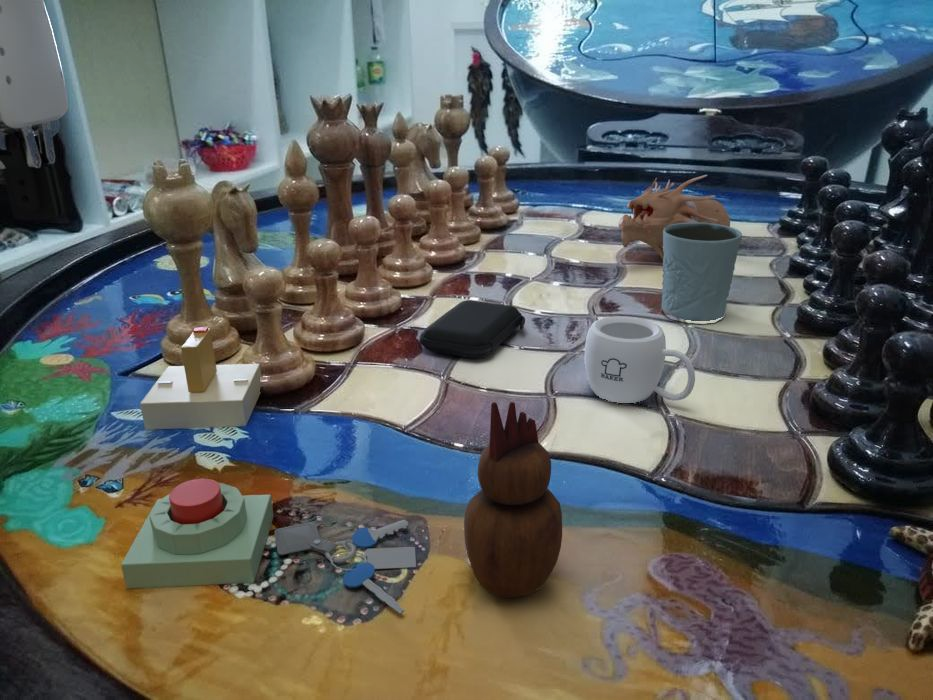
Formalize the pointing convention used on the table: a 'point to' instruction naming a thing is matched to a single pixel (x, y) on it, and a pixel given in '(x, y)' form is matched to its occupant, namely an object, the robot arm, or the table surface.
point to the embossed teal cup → (698, 269)
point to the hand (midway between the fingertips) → (40, 216)
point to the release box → (200, 545)
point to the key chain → (352, 553)
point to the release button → (196, 501)
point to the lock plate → (202, 399)
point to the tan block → (199, 359)
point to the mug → (629, 360)
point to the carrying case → (472, 329)
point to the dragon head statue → (667, 214)
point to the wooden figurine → (513, 511)
